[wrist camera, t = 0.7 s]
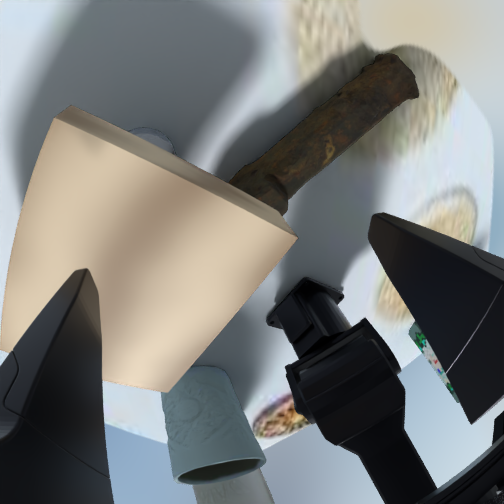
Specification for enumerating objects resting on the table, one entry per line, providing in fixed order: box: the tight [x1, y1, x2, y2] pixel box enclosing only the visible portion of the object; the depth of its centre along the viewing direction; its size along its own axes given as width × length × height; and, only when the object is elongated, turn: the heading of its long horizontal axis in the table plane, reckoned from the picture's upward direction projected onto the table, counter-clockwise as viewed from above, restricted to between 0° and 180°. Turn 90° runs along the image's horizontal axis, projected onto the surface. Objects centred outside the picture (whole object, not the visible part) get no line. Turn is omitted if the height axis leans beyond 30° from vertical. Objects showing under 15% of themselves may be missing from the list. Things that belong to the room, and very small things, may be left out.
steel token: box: [128, 128, 176, 156], centre depth 18 cm, size 4×4×2 cm
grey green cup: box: [161, 366, 266, 485], centre depth 31 cm, size 10×10×12 cm
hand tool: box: [228, 53, 419, 216], centre depth 20 cm, size 19×4×5 cm, turn 127°
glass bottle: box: [193, 468, 274, 504], centre depth 33 cm, size 10×10×28 cm
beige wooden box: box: [0, 105, 298, 393], centre depth 17 cm, size 11×13×10 cm
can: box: [409, 322, 459, 403], centre depth 40 cm, size 6×6×15 cm
